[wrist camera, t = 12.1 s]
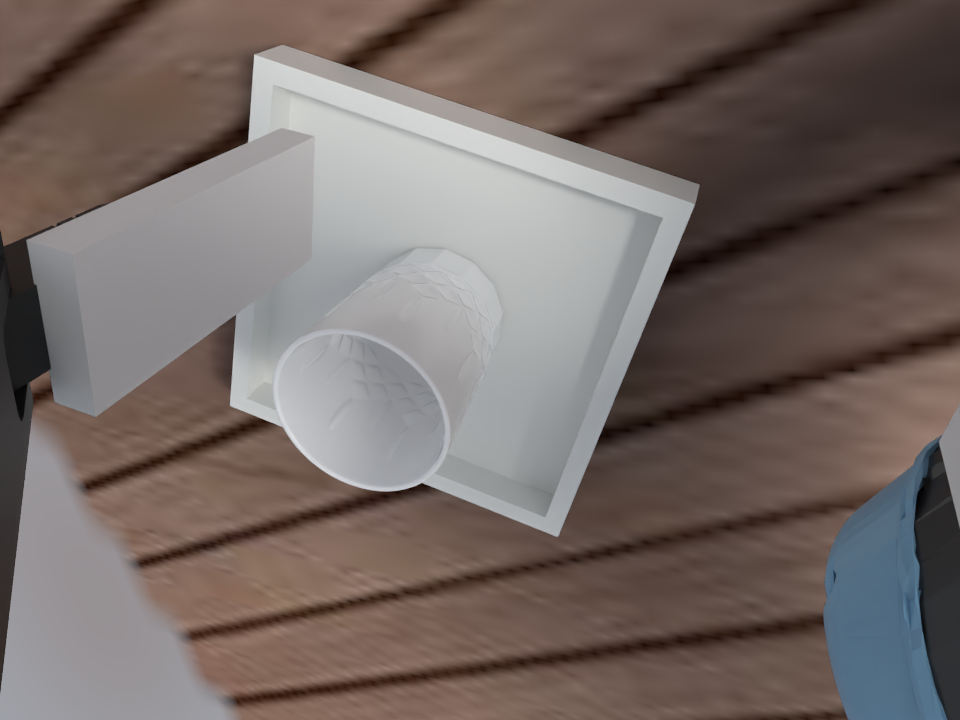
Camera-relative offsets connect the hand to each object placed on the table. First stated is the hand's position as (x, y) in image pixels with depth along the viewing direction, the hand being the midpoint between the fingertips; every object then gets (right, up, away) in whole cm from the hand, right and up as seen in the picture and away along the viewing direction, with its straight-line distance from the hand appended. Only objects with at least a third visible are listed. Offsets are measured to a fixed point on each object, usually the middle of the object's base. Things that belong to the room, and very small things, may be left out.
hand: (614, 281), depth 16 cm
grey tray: (-5, +2, +26) cm, 27 cm away
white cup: (-4, +1, +26) cm, 26 cm away
